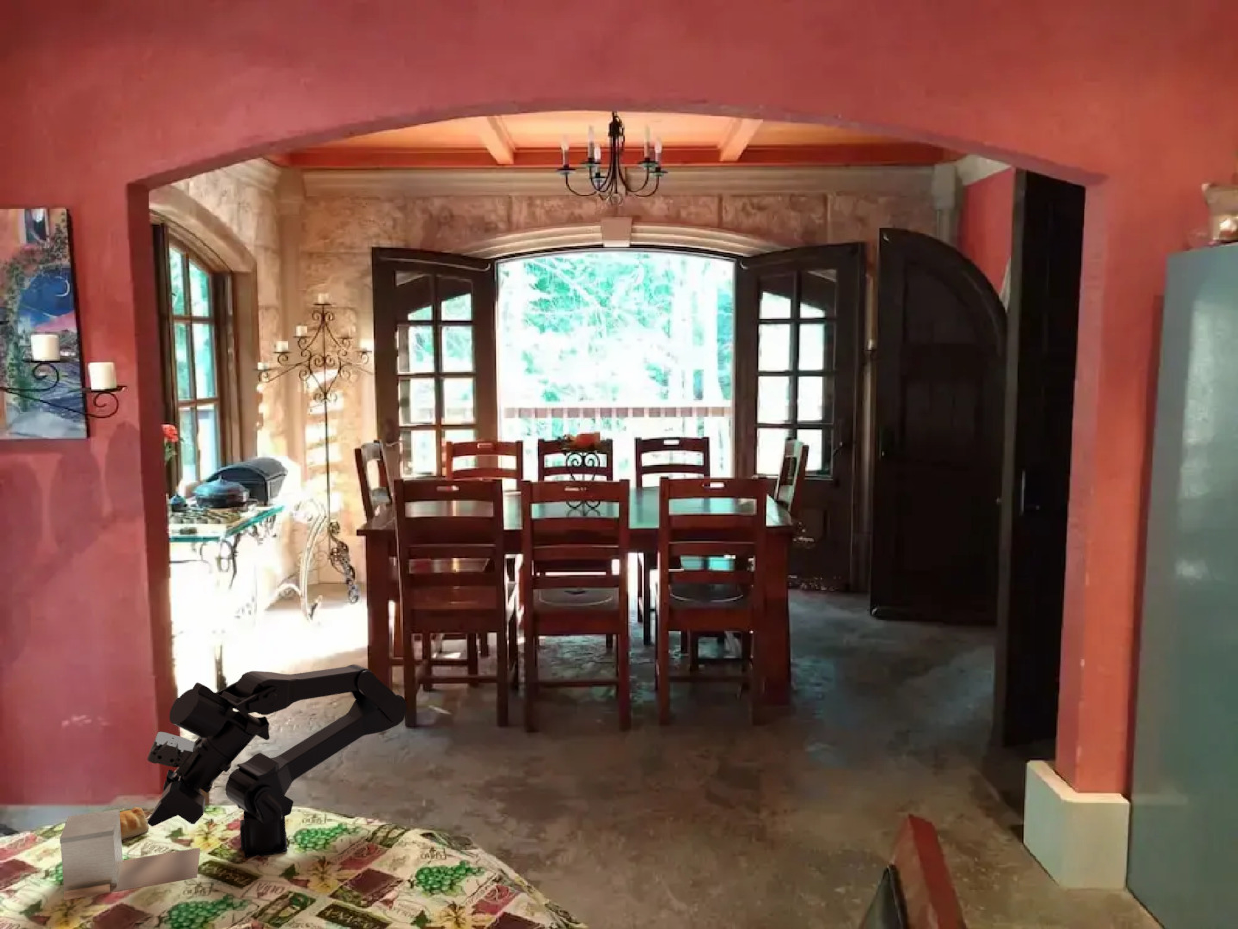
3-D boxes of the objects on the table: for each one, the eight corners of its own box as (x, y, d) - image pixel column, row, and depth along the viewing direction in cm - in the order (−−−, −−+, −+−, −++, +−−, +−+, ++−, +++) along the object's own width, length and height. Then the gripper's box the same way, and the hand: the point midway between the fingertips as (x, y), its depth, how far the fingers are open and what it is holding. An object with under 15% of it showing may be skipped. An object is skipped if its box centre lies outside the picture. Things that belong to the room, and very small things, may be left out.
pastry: (91, 855, 158) (90, 832, 158) (78, 840, 163) (77, 818, 163) (152, 834, 165) (151, 813, 164) (138, 821, 170) (136, 800, 169)
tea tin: (123, 863, 155) (119, 809, 153) (117, 886, 148) (113, 830, 147) (72, 871, 152) (68, 816, 151) (64, 895, 146) (59, 838, 144)
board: (200, 850, 159) (199, 841, 159) (197, 879, 151) (196, 871, 150) (75, 870, 153) (74, 862, 153) (64, 902, 144) (63, 894, 144)
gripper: (185, 695, 160) (116, 769, 158) (172, 739, 143) (94, 823, 141) (240, 734, 164) (173, 807, 162) (233, 782, 146) (158, 865, 144)
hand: (149, 823), depth 152 cm, fingers closed
